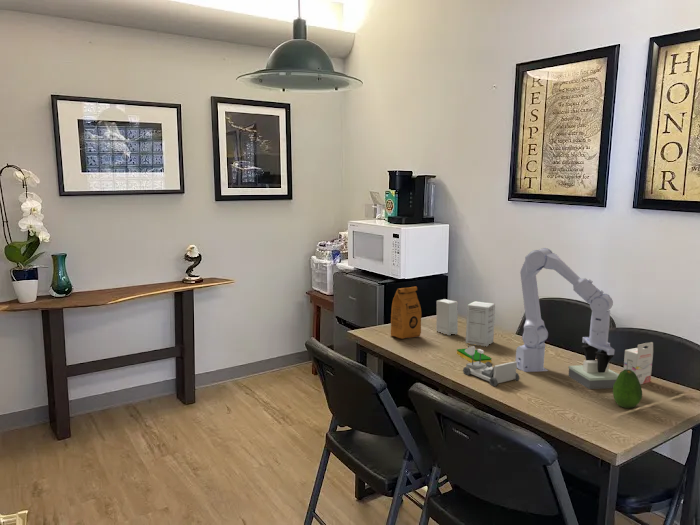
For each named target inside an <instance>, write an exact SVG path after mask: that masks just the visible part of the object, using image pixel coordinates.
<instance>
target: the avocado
mask: <svg viewBox="0 0 700 525" xmlns="http://www.w3.org/2000/svg"><path fill="white" fill-rule="evenodd" d="M618 374H619V375H618V377H617V379H616V381H615V383H614V385H613V388H612V395H613V399H614V401H615V403H616V404H617V405H618V407H619V406H620V408H621V407H622V408H625V409H631V408H635V407H636V406H637V405H638V404H639V403H640V402H641V400H642V398H643V389H642V384H640V382H639V380H638V378H637V376H636V374H635V373H634V372H633V371H631V370H628V369H625V370H624V369H623V370H621V371H620V372H619V373H618Z"/></svg>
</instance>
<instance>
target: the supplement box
mask: <svg viewBox="0 0 700 525" xmlns="http://www.w3.org/2000/svg"><path fill="white" fill-rule="evenodd" d="M495 311H496V303H493V302H492V303H491V302H486V301H485V302H483V301H476V300H475V301H473V302H470V303H469V304H467V307H466V325H465V326H466V328H465V330H466V331H465V344H467V343H470V345H473V344H476V345H475V346H479V345H481V346H480V347H485V346H486V348H487V347H488V346H490V345H491V344H492V343H494V335H495V318H496V317H495V313H496V312H495ZM489 344H490V345H489Z"/></svg>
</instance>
